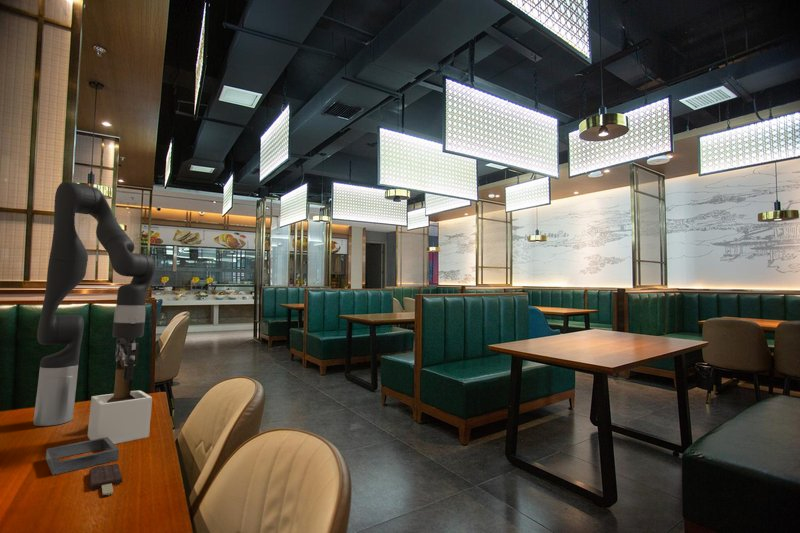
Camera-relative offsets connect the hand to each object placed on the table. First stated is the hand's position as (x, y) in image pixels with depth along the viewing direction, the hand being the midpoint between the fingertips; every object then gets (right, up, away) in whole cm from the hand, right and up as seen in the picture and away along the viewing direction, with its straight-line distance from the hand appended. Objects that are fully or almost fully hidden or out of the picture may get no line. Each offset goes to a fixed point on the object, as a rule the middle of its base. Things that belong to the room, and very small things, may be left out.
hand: (124, 377), depth 111 cm
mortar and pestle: (0, -9, -1) cm, 9 cm away
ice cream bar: (+16, -15, -29) cm, 36 cm away
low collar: (+2, -15, -18) cm, 23 cm away
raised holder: (-1, -16, -2) cm, 17 cm away
